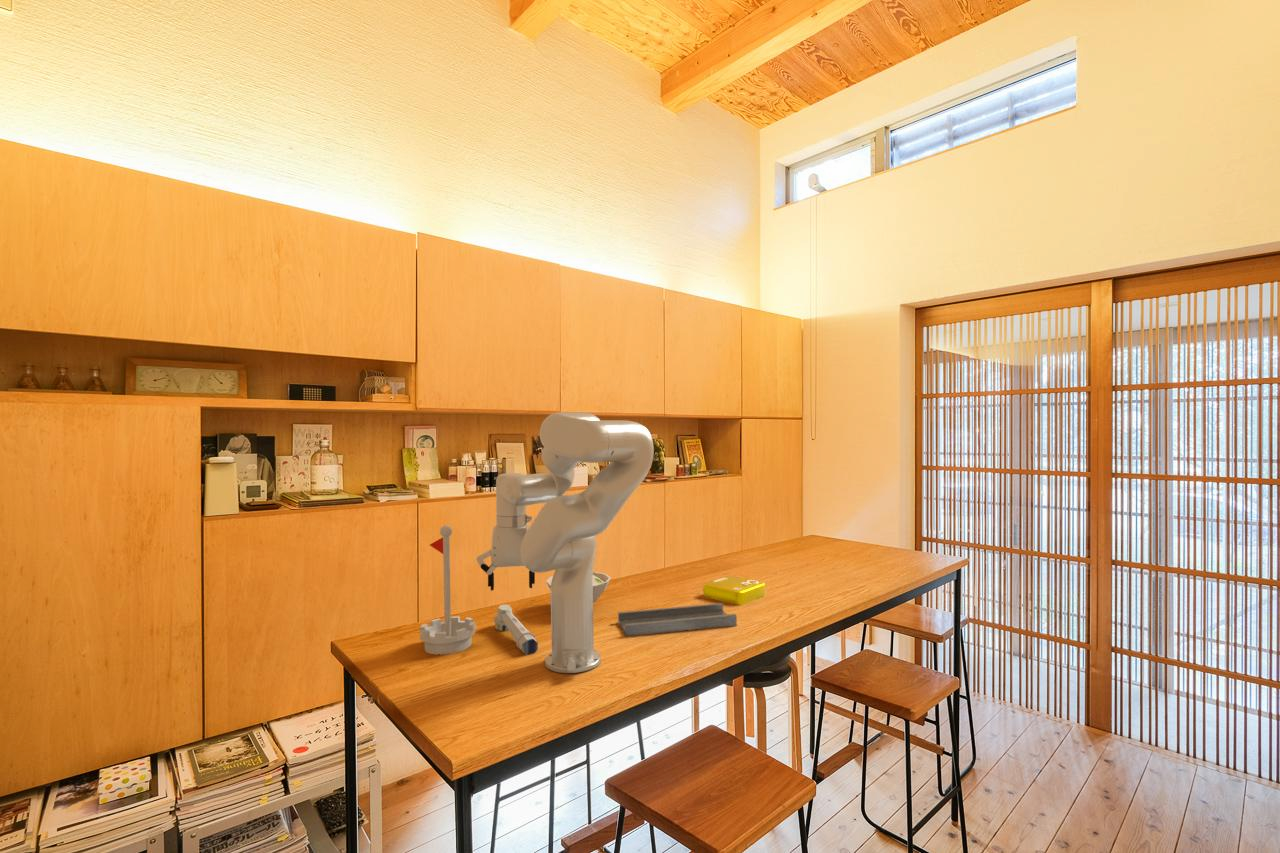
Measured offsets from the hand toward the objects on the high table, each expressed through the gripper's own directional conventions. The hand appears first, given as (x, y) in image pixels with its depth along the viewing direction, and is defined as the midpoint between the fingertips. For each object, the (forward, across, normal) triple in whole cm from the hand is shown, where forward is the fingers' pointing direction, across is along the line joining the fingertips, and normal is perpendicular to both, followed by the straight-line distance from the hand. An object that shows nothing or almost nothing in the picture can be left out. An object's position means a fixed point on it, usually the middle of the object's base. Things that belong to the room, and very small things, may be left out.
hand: (511, 587), depth 150 cm
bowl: (+13, -20, -19) cm, 30 cm away
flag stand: (+13, +15, +2) cm, 20 cm away
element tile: (+13, -68, -19) cm, 72 cm away
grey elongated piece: (+13, -1, +1) cm, 13 cm away
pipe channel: (+12, -44, +2) cm, 45 cm away
